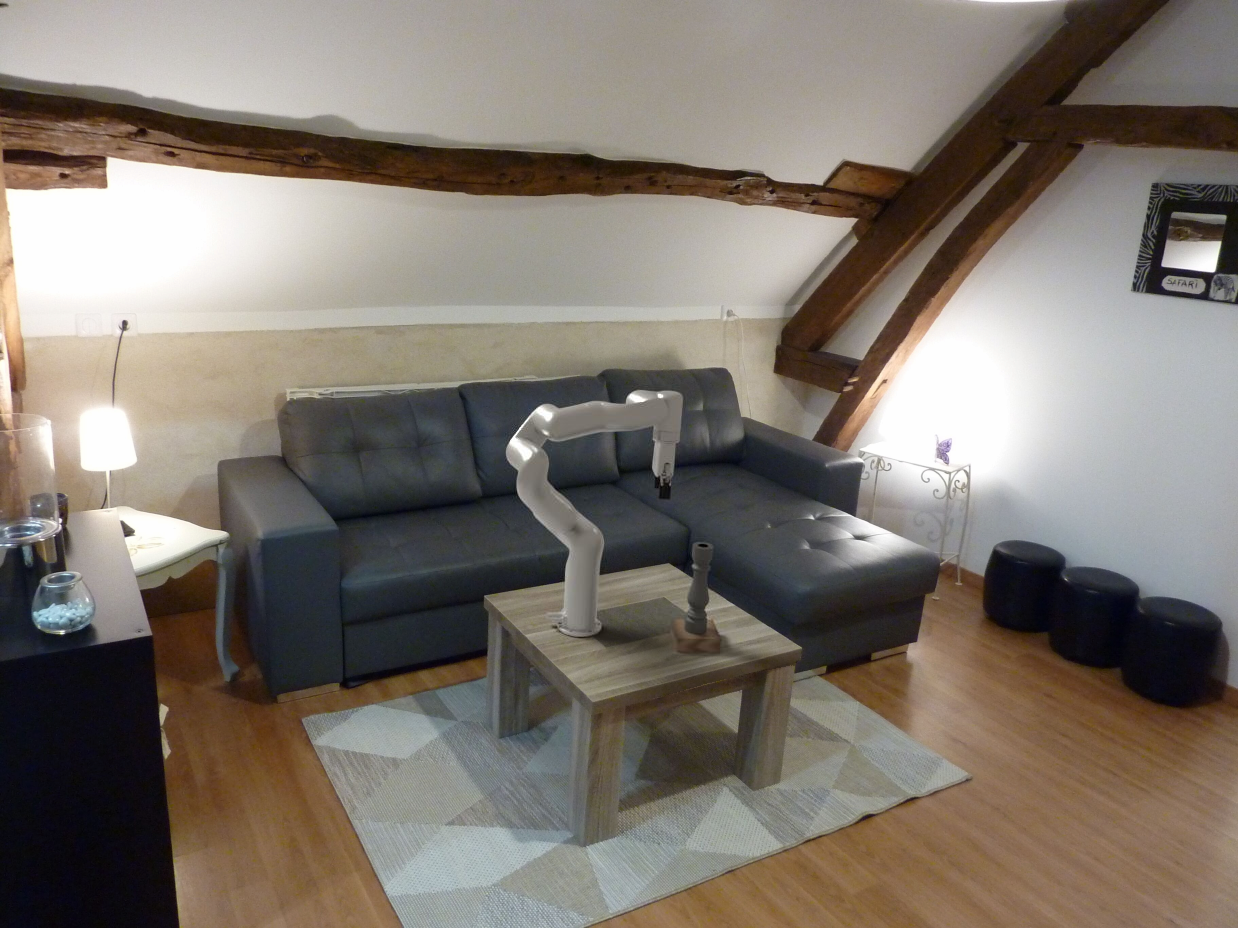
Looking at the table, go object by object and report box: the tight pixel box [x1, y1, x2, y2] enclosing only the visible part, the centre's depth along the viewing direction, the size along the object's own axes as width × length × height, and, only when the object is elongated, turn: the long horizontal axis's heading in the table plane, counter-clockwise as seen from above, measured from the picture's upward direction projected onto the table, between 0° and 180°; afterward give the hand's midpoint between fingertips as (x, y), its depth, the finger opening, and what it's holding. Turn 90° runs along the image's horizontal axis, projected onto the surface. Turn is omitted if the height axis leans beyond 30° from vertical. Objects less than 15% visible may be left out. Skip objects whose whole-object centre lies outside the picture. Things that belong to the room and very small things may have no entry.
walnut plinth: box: [670, 618, 722, 653], centre depth 267 cm, size 12×12×4 cm
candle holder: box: [684, 541, 714, 634], centre depth 263 cm, size 6×6×25 cm
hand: (661, 493), depth 271 cm, fingers open, 9 cm apart
